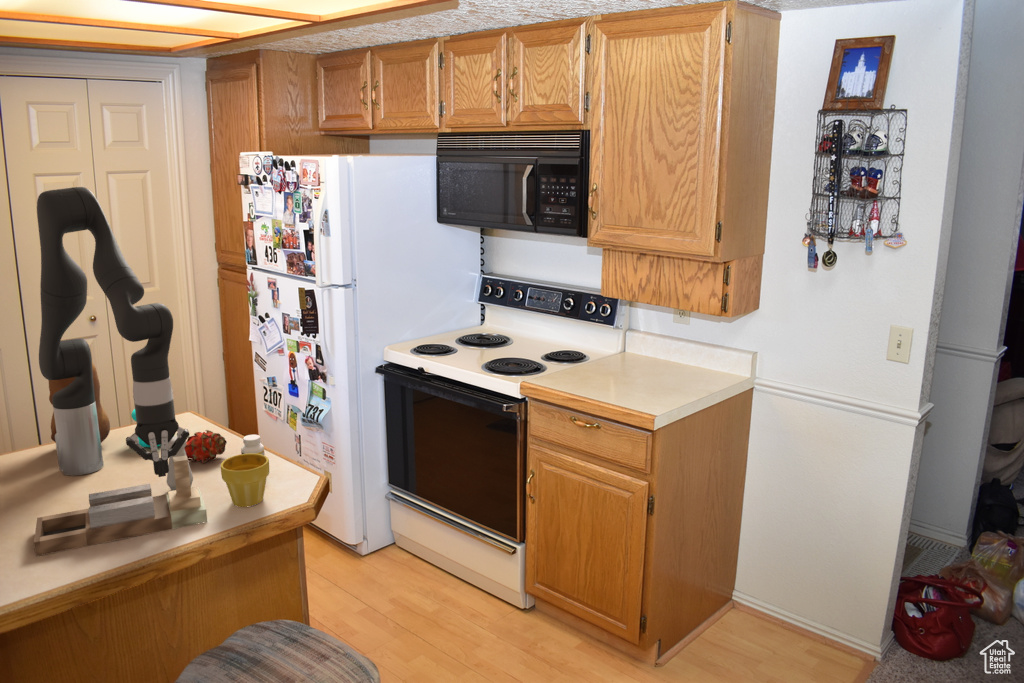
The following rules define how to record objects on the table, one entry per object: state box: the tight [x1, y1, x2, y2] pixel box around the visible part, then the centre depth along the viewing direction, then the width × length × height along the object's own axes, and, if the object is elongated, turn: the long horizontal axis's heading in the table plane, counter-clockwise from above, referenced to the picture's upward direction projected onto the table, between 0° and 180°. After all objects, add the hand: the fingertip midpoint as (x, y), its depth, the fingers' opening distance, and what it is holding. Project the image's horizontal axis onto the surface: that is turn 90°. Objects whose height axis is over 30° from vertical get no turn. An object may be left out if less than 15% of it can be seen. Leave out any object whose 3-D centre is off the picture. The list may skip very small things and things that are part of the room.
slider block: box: [167, 455, 201, 512], centre depth 170 cm, size 6×6×10 cm
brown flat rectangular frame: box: [33, 488, 208, 557], centre depth 167 cm, size 32×12×3 cm, turn 118°
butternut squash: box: [47, 362, 111, 444], centre depth 208 cm, size 14×13×25 cm
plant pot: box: [220, 453, 270, 508], centre depth 179 cm, size 10×10×10 cm
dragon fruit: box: [184, 429, 228, 464], centre depth 203 cm, size 8×8×12 cm
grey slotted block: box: [88, 483, 155, 529], centre depth 166 cm, size 12×10×4 cm
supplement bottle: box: [240, 434, 266, 456], centre depth 194 cm, size 5×5×10 cm
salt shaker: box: [166, 435, 194, 491], centre depth 184 cm, size 6×6×13 cm
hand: (162, 475), depth 169 cm, fingers closed
